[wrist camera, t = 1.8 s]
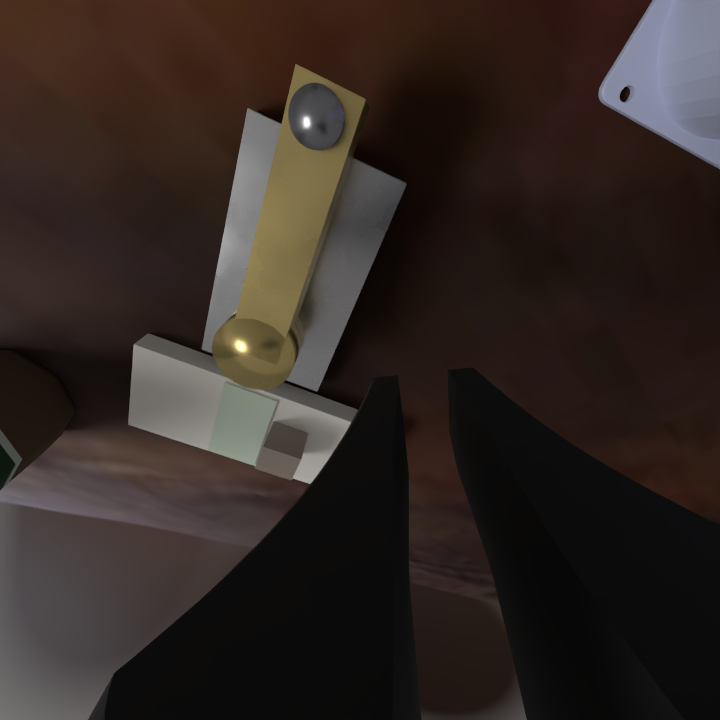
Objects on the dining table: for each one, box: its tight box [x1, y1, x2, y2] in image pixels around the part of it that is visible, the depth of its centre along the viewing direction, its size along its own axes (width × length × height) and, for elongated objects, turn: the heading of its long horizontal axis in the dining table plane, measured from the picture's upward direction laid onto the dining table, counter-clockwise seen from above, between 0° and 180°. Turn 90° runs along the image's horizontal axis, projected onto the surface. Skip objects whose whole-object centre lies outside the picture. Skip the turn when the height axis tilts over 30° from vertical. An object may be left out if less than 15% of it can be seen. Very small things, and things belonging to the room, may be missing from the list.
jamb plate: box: [202, 109, 407, 391], centre depth 17 cm, size 7×12×2 cm, turn 158°
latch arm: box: [212, 64, 369, 390], centre depth 14 cm, size 4×12×3 cm, turn 158°
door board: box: [128, 333, 358, 484], centre depth 22 cm, size 16×6×4 cm, turn 68°
